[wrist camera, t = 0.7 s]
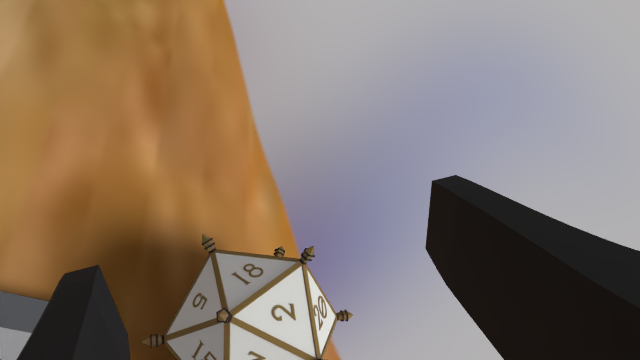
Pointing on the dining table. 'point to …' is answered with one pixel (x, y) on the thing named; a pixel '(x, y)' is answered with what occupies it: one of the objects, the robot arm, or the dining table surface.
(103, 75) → the dining table surface
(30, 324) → the metal frame
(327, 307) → the game die
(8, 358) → the grey knob block
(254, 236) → the dining table surface
